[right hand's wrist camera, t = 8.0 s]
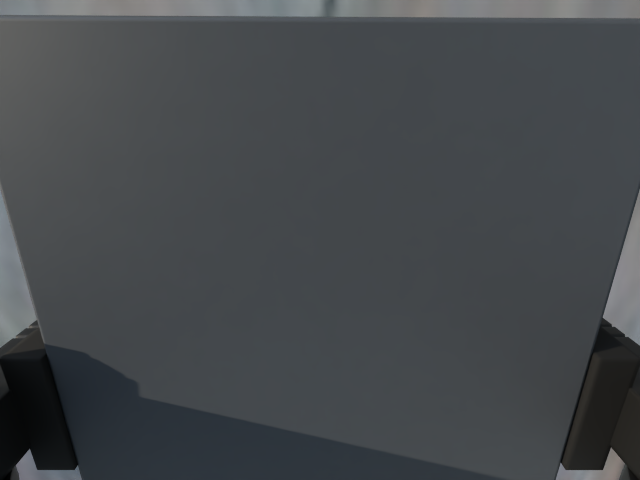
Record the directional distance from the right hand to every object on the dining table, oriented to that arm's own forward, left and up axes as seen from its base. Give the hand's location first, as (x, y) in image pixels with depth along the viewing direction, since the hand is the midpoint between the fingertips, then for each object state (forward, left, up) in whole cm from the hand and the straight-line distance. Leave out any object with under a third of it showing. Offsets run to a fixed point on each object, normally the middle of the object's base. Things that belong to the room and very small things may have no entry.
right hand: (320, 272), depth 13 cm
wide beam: (+8, +25, -1) cm, 26 cm away
